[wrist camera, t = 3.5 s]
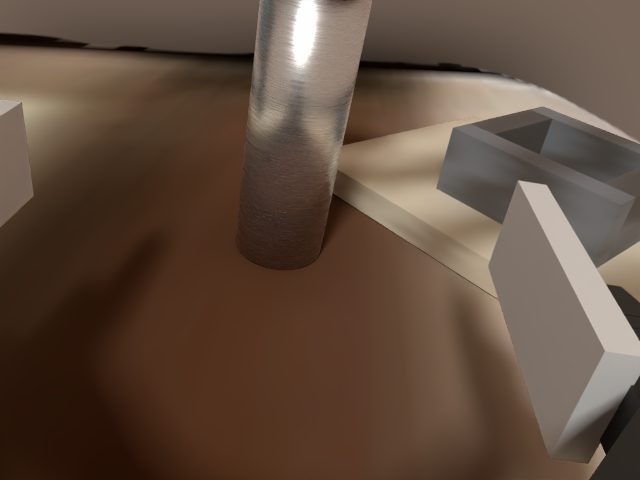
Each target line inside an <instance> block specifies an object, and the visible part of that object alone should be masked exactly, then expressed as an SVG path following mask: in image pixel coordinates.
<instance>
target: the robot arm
mask: <svg viewBox="0 0 640 480" xmlns="http://www.w3.org/2000/svg"><path fill="white" fill-rule="evenodd" d="M33 196H34V193H33V186H32V178H31V170H30V162H29V155H28V147H27V139H26V131H25V123H24V116H23V108H22V102H17V101H11V100H5V99H0V227H1V226H2V225H3V224H4V223H5V222H7V221H8V220H9V219H10V218H11V217H12V216H13V215H14V214H15V213H16V212H17V211H18V210H19V209H20V208H21V207H22V206H23V205H24V204H26V203H27V202H28V201H29V200H30V199H31V198H32V197H33ZM488 268H489V271H490V274H491V277H492V280H493V284H494V287H495V290H496V293H497V296H498V299H499V302H500V306H501V309H502V312H503V315H504V318H505V321H506V324H507V328H508V331H509V334H510V337H511V340H512V343H513V346H514V350H515V353H516V356H517V359H518V362H519V365H520V368H521V372H522V375H523V378H524V381H525V384H526V387H527V390H528V393H529V397H530V400H531V403H532V406H533V409H534V412H535V415H536V419H537V422H538V425H539V428H540V431H541V434H542V437H543V441H544V444H545V447H546V450H547V453H548V456H549V458H553V459H560V460H567V461H573V462H580V463H587V464H588V463H589V461H590V460H591V458H592V456H593V454H594V453H595V451H596V449H597V448H598V446H599V444H600V442H601V444H602V447H603V449H604V451H605V454H606V456H605V457H604V459H603V460H602V462H601V463H600V465H599V466H598V468H597V469H596V471H595V472H594V474H593V475H592V476H591V478H590V479H589V480H640V302H639V301H638V300H637V299H635V298H634V297H633V296H632V295H631V294H629V293H628V292H627V291H626V290H625V289H624V288H622V287H621V286H615V285H609V284H605V282H604V280H603V279H602V277H601V275H600V274H599V272H598V270H597V269H596V267H595V265H594V264H593V262H592V260H591V259H590V257H589V255H588V254H587V252H586V250H585V249H584V247H583V245H582V244H581V242H580V240H579V239H578V237H577V235H576V234H575V232H574V230H573V228H572V227H571V225H570V223H569V222H568V220H567V218H566V217H565V215H564V213H563V212H562V210H561V208H560V207H559V205H558V203H557V202H556V200H555V198H554V197H553V195H552V193H551V192H550V190H549V188H548V187H547V185H544V184H537V183H531V182H525V181H518V182H517V185H516V188H515V190H514V193H513V196H512V199H511V202H510V205H509V207H508V210H507V213H506V216H505V219H504V222H503V225H502V227H501V230H500V233H499V236H498V239H497V242H496V244H495V247H494V250H493V253H492V256H491V259H490V262H489V264H488Z"/></svg>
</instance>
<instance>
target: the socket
mask: <svg viewBox="0 0 640 480" xmlns="http://www.w3.org/2000/svg"><path fill="white" fill-rule="evenodd" d="M518 181H525V182H531V183H537V184H544V185H547V187H548V188H549V190H550V192H551V193H552V195H553V197H554V198H555V200H556V202H557V203H558V205H559V207H560V208H561V210H562V212H563V213H564V215H565V217H566V218H567V220H568V222H569V223H570V225H571V227H572V228H573V230H574V232H575V234H576V235H577V237H578V239H579V240H580V242H581V244H582V245H583V247H584V249H585V250H586V252H587V254H588V255H589V257H590V259H591V260H592V262H593V264H594V265H595V267H596V269H597V270H598V272H599V274H600V275H601V277H602V279H603V280H604V282H605V284H609V285H615V286H621V287H622V288H624V289H625V290H626V291H627V292H628V293H629V294H631V295H632V296H633V297H634V298H635V299H637V300H638V301H639V302H640V144H638V143H635V142H633V141H630V140H628V139H625V138H623V137H620V136H617V135H615V134H612V133H610V132H607V131H605V130H602V129H599V128H597V127H594V126H592V125H589V124H587V123H584V122H581V121H579V120H576V119H574V118H571V117H569V116H566V115H563V114H561V113H558V112H556V111H553V110H551V109H548V108H545V107H539V108H535V109H530V110H526V111H522V112H518V113H513V114H509V115H505V116H501V117H496V118H492V119H488V120H481V119H479V118H477V117H474V116H473V117H469V118H464V119H460V120H456V121H451V122H447V123H442V124H438V125H433V126H429V127H424V128H420V129H415V130H411V131H406V132H402V133H397V134H393V135H388V136H384V137H379V138H375V139H370V140H366V141H361V142H357V143H352V144H348V145H343V146H342V149H341V154H340V158H339V163H338V168H337V173H336V178H335V183H334V187H333V192H332V193H333V194H335V195H336V196H338V197H339V198H341V199H343V200H344V201H346V202H347V203H349V204H350V205H352V206H354V207H355V208H357V209H358V210H360V211H361V212H363V213H364V214H366V215H368V216H369V217H371V218H372V219H374V220H375V221H377V222H378V223H380V224H382V225H383V226H385V227H386V228H388V229H389V230H391V231H393V232H394V233H396V234H397V235H399V236H400V237H402V238H403V239H405V240H407V241H408V242H410V243H411V244H413V245H414V246H416V247H417V248H419V249H421V250H422V251H424V252H425V253H427V254H428V255H430V256H431V257H433V258H435V259H436V260H438V261H439V262H441V263H442V264H444V265H446V266H447V267H449V268H450V269H452V270H453V271H455V272H456V273H458V274H460V275H461V276H463V277H464V278H466V279H467V280H469V281H470V282H472V283H474V284H475V285H477V286H478V287H480V288H481V289H483V290H484V291H486V292H488V293H489V294H491V295H492V296H494V297H495V298H497V299H498V296H497V293H496V290H495V287H494V284H493V280H492V277H491V274H490V271H489V268H488V264H489V262H490V259H491V256H492V253H493V250H494V247H495V244H496V242H497V239H498V236H499V233H500V230H501V227H502V225H503V222H504V219H505V216H506V213H507V210H508V207H509V205H510V202H511V199H512V196H513V193H514V190H515V188H516V185H517V182H518Z"/></svg>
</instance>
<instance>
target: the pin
mask: <svg viewBox="0 0 640 480" xmlns="http://www.w3.org/2000/svg"><path fill="white" fill-rule="evenodd" d="M371 4H372V0H260V5H259V14H258V24H257V34H256V44H255V54H254V64H253V73H252V83H251V93H250V103H249V113H248V122H247V132H246V142H245V152H244V162H243V171H242V181H241V191H240V201H239V211H238V220H237V230H236V245H237V247H238V249H239V251H240V252H241V253H242V254H243V255H244V256H245V257H246V258H247V259H249V260H250V261H252V262H254V263H256V264H258V265H261V266H264V267H268V268H272V269H280V270H290V269H297V268H301V267H305V266H307V265H309V264H311V263H312V262H314V261H315V260H316V259H317V257H318V256H319V254H320V250H321V245H322V241H323V236H324V231H325V226H326V221H327V216H328V212H329V207H330V202H331V197H332V192H333V187H334V183H335V178H336V173H337V168H338V163H339V158H340V154H341V149H342V144H343V139H344V134H345V130H346V125H347V120H348V115H349V110H350V105H351V101H352V96H353V91H354V86H355V81H356V76H357V72H358V67H359V62H360V57H361V52H362V47H363V43H364V38H365V32H366V28H367V23H368V18H369V14H370V9H371Z"/></svg>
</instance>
